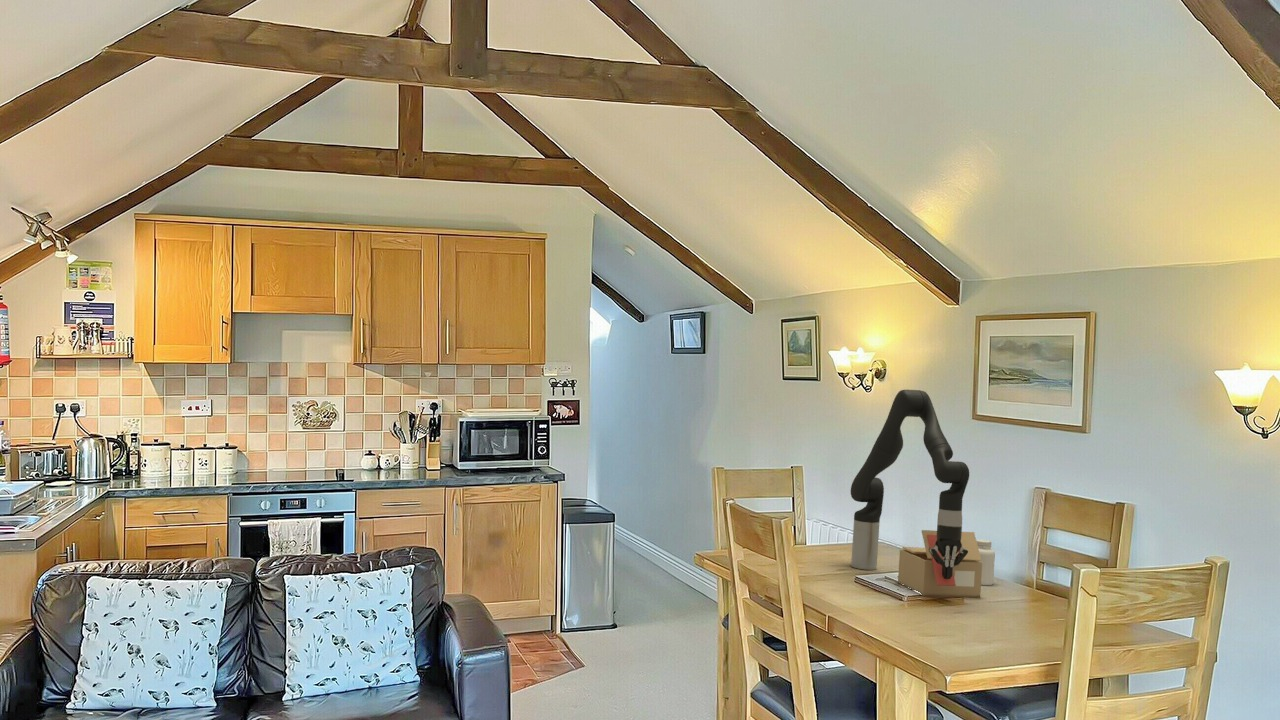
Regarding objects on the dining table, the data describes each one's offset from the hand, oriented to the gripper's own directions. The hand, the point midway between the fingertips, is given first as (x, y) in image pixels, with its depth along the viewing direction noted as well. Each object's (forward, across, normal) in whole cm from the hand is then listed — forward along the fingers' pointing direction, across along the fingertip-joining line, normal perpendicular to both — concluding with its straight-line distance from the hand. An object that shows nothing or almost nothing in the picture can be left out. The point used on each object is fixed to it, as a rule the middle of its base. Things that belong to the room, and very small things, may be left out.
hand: (946, 578), depth 309 cm
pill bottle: (+7, -28, -29) cm, 41 cm away
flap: (-5, -5, -5) cm, 9 cm away
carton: (+7, -5, -15) cm, 17 cm away
